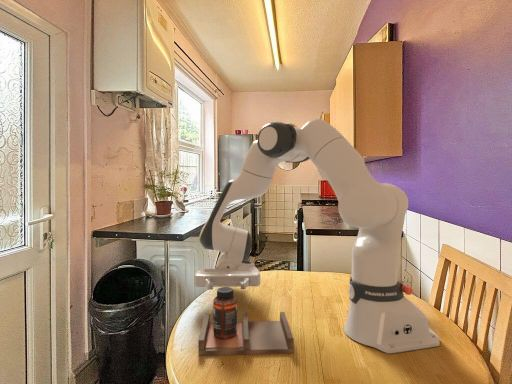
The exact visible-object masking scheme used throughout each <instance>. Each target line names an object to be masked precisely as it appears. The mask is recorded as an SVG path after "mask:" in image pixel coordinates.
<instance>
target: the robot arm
mask: <svg viewBox="0 0 512 384" xmlns="http://www.w3.org/2000/svg"><path fill="white" fill-rule="evenodd" d="M256 139H257V140H255V141H253V142H252V143H251V145H250V147H249V149H248V151H247V153H246V155H245V157H244V160H243V164H242V166H241V169H240V172H239V173H238V175H237V176H236V177H235V178H234V179H231V180H229V181H228V182H227V183H226V184H225V185H224V187H223V189H222V191H221V194H220V195H219V197H218V198H217V201H216V203H215V205H214V207H213V209H212V211H211V213H210V216H209V218H208V220H207V221H206V222H205V224H204V225H203V226H202V228H201V229H200V233H199V241H198V242H199V243H200V244H201V245H202V246H201V247H203V248H204V249H206V250H211V251H216V252H221V254H220V255H219V256H218V258H217V261H216V265H215V268H201V269H198V270H197V271H196V272H195V274H194V275H193V285H194V286H195V288H196V287H197V288H207V290H213V289H214V288H221V287H230V288H233V287H234V288H235V287H238V288H240V290H246V288H248V287H259V286H260V285H261V273H260V269H258V267H256V265H255V262H252V261H251V262H250V261H247V260H249V257H250V254H251V251H252V247H253V246H252V245H253V238H252V235H251V233H250V231H248V230H246V229H243V228H240V227H235V226H231V225H228V224H225V223H222V222H221V219H222V218H223V216H224V214H225V212H226V209H228V206H229V204H230V203H232V202H234V201H238V200H249V199H257V198H259V197H262V196H263V195H265V194H266V193H267V192H268V191H269V189H270V188H271V185H272V181H273V178H274V177H275V172H276V169H277V168H278V167H277V166H278V165H279V164H280V163H282V162H285V163H295V164H297V163H304V162H307V161H309V160H310V161H311V162H312V163H313V164H314V166H315V167H316V168H317V170H318V171H319V172H320V173H321V174H322V176H323V177H324V178H325V180H326V181H327V182H328V184H329V185H330V187H331V188H332V190H333V193H334V194H335V197H336V199H337V201H338V205H337V206H338V207H337V208H338V213H339V216H340V218H341V219H342V220H343V222H344V223H345V224H346V225H348V226H350V227H353V228H356V229H358V232H357V237H356V239H355V241H354V243H353V246H352V248H351V275H350V277H349V285H348V297H349V306H348V311H347V312H348V313H347V315H346V321H345V324H344V326H343V331H344V333H345V334H346V336H347V337H348V338H350V339H352V340H353V341H355V342H357V343H359V344H362V345H365V346H369V347H372V348H375V349H377V350H379V351H381V352H384V353H386V354H396V353H404V352H409V351H416V350H422V349H428V348H433V347H434V348H435V347H439V346H440V344H441V341H440V338H439V336H438V335H437V334H436V333H435V331H434V330H432V328H430V326H429V321H428V318H427V316H426V314H425V313H424V312H423V310H422V309H420V307H418V306H417V305H416V304H415V303H413V302H412V301H411V300H409V298H407V297H406V296H405V295H408V296H410V295H412V294H413V293H414V288H412V287H411V286H409V285H408V284H404V283H402V282H400V281H399V280H398V273H399V271H398V270H399V267H398V266H399V250H400V244H401V239H402V234H403V229H404V225H405V218H406V214H407V211H408V209H409V198H408V196H407V194H406V192H405V191H404V190H403V189H401V188H400V187H399V186H396V185H394V184H392V183H389V182H387V183H386V182H384V183H382V182H381V183H380V182H379V181H377V180H376V179H375V178H374V177H373V175H372V174H371V172H370V170H369V169H368V167H367V165H366V163H365V159H364V157H363V156H362V155H361V154H360V153H359V152H358V150H357V149H356V148H355V147H354V146H353V145H352V144H351V143H350V142H349V140H347V138H345V137H344V135H343V134H342V133H341V132H340V131H339V130H337V129H336V127H334V126H333V125H332V124H330V123H329V122H327V121H326V120H324V119H323V118H322V119H321V118H315V119H314V118H313V119H311V120H309V121H307V122H306V123H305V124H304V125H303V126H302V127H300V128H299V127H297V126H294V125H292V124H288V123H284V122H282V121H281V122H280V121H272V122H268V123H266V124H264V125H262V127H261V128H260V129H259V131H258V134H257V138H256ZM404 293H405V294H404Z"/></svg>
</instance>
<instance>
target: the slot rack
mask: <svg viewBox="0 0 512 384" xmlns="http://www.w3.org/2000/svg"><path fill="white" fill-rule="evenodd" d="M210 315H211V313H210V312H208V313H207V312H206V313H205V312H204V317H203V320H202V325H201V329H200V333H199V336H198V341H197V342H198V345H197V346H198V353H197V355H198V356H225V355H226V356H228V355H230V356H231V355H263V354H264V355H266V354H269V355H270V354H273V355H274V354H294V336H293V334H292V330H291V328H290V324H289V321H288V319H287V318H288V317H287V315H286V313H285V311H279V320H261V321H260V320H258V321H257V320H255V321H254V320H252V321H251V320H250V321H248V320H249V319H248V318H249V317H248V312H242V321H237V333H236V335H235V336H234V337H231V338H228V339H220V338H217V337H216V336H215V335H214V333H213V321H210V320H211V319H210Z"/></svg>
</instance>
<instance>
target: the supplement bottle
mask: <svg viewBox="0 0 512 384" xmlns="http://www.w3.org/2000/svg"><path fill="white" fill-rule="evenodd" d="M212 305H213V306H212V307H213V308H212V311H213V313H212V322H213V333H214V335H215V336H216V337H217V338H220V339H228V338H231V337H234V336H235V335H236V333H237V322H238V299H237V298H236V297H235V295H234V288H233V287H217V289H216V296H215V297H214V298H213V301H212Z"/></svg>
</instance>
